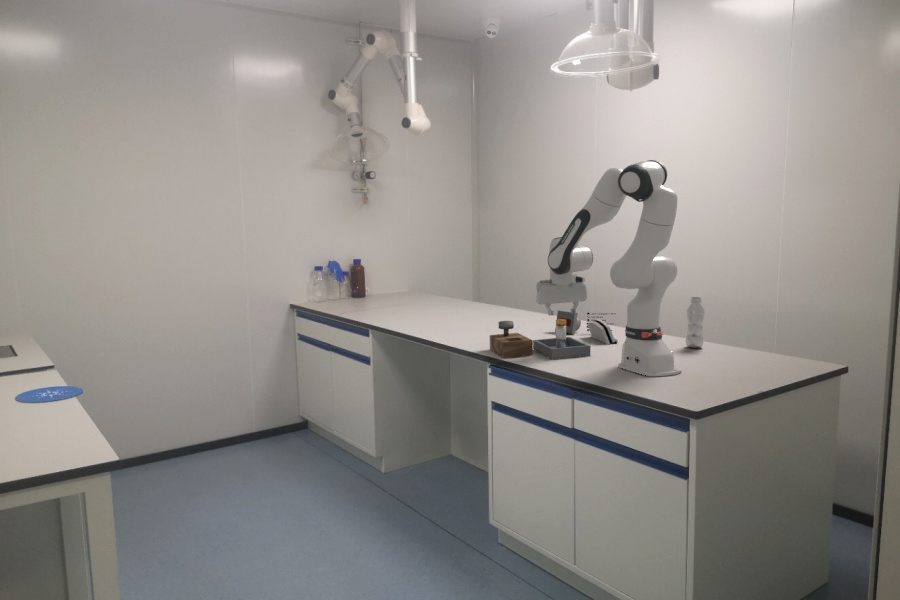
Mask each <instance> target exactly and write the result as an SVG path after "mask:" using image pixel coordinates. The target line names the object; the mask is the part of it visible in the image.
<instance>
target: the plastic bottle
mask: <svg viewBox="0 0 900 600" xmlns="http://www.w3.org/2000/svg"><path fill="white" fill-rule="evenodd" d="M701 303H702V298H701V297H696V296H693V297H691V298H690V305H689V306H688V307H687V309H686V316H687V330H686V331H687V332H686V336H685V345H686V346H687V347H688V348H691V349H697V348H698V349H699V348H702V347H703V345H704V336H703V323H704V319H705V318H704V317H705V308H704V306H703V305H702V304H701Z"/></svg>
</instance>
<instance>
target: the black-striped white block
mask: <svg viewBox="0 0 900 600" xmlns="http://www.w3.org/2000/svg"><path fill="white" fill-rule="evenodd" d="M602 320H603V319H600V318H597V319H592V320H591V321H589V322H587V323H588V325H587V326H588V327H589V328H588V329H590V331H589V332H590V335H591V337H592V338H593V337H594V339H595V338H596V340H597V339H598V341H599V340H600V341H599V342H601V341H602V343H603V342H604V343H603V344H605V343H606V345H611V343H615V342H616V343H615V344H617V343H618V344H619V342H618V339H616V338H615V337H614V334H613V332H612V331H611V330H612V329H611V328H610V325H609V324H607V323H606V321H605V320H604V321H602Z"/></svg>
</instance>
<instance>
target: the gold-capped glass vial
mask: <svg viewBox="0 0 900 600" xmlns="http://www.w3.org/2000/svg"><path fill="white" fill-rule="evenodd" d="M555 328H556V331H555V338H556V348H564V347H566V337H567V333H566V320H565V319H557V318H556V319H555Z"/></svg>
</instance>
